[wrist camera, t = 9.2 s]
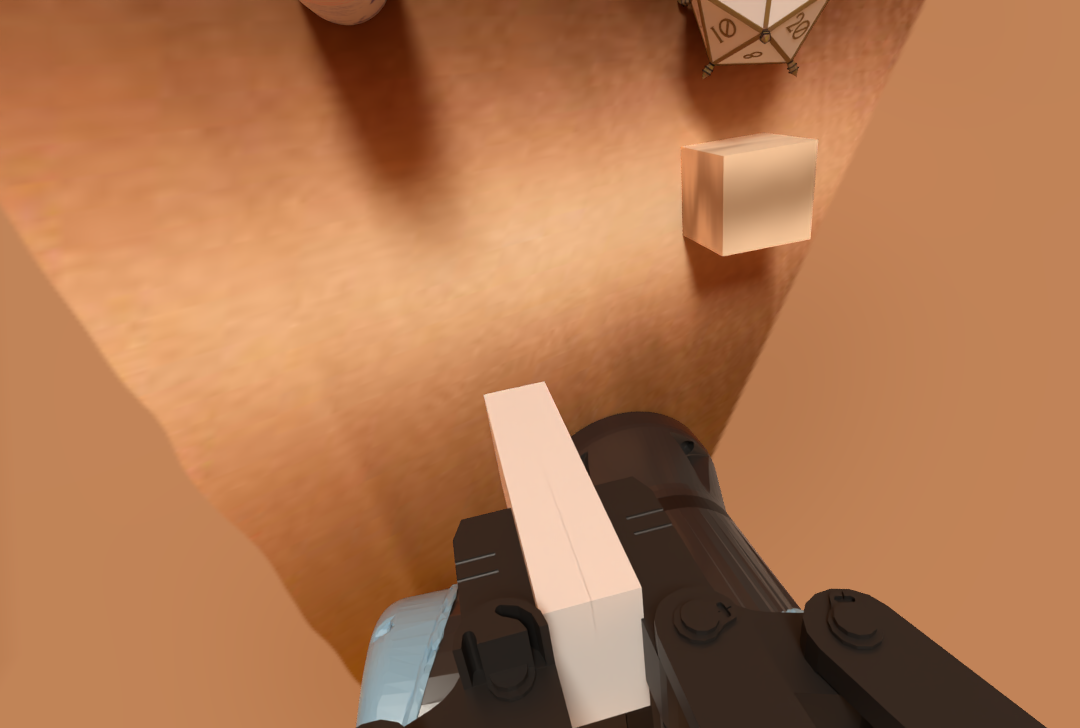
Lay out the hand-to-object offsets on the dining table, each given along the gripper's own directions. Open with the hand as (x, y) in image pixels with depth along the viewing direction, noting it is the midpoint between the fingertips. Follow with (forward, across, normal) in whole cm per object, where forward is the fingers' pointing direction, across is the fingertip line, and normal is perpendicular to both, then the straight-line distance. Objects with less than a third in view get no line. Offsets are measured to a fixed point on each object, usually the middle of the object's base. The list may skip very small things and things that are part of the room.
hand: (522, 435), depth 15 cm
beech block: (+27, -19, +1) cm, 33 cm away
